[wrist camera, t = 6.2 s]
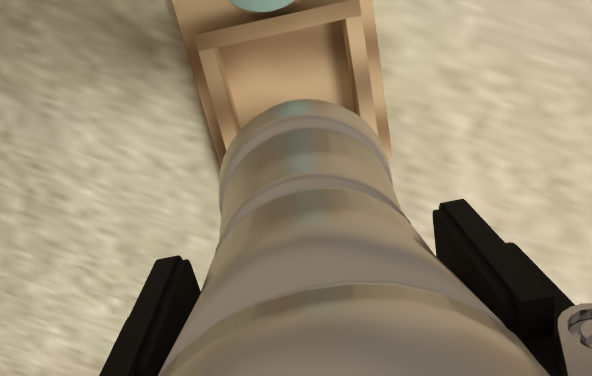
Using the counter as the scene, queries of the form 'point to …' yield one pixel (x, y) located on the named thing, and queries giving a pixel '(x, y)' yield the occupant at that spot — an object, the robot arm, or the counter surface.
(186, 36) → the oak caddy
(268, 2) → the sage pillar candle
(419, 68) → the counter surface
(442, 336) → the plastic bottle
